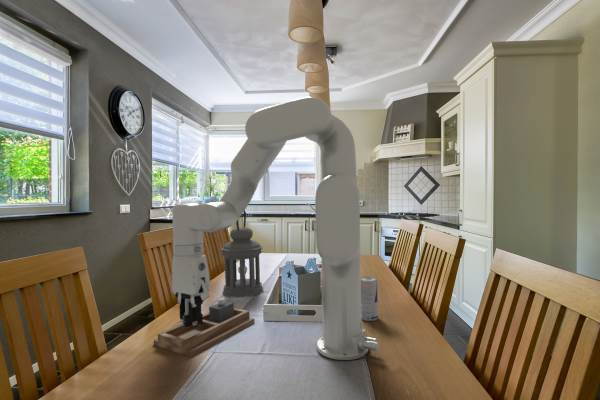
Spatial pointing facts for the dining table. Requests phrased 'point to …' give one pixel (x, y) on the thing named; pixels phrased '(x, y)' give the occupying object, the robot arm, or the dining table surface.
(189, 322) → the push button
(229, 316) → the plug block
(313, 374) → the dining table surface
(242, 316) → the brown wooden divided tray
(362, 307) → the energy drink
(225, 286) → the lantern
